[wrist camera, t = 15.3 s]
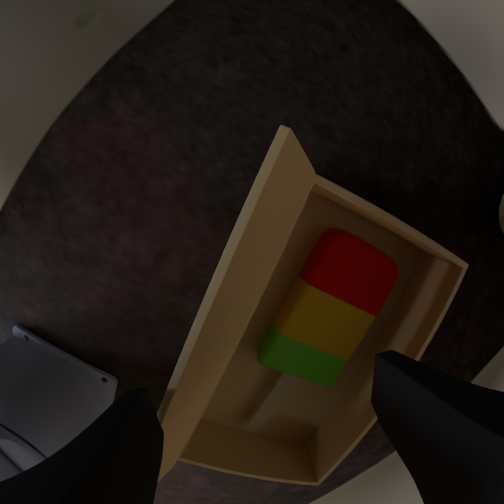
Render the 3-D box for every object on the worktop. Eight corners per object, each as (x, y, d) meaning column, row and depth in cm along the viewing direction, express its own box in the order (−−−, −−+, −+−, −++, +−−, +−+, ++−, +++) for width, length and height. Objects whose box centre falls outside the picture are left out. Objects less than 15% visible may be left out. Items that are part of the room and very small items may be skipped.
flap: (173, 466, 15) (169, 463, 15) (315, 172, 12) (309, 169, 12) (125, 515, 10) (120, 511, 10) (291, 128, 7) (280, 123, 7)
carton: (180, 411, 21) (172, 458, 16) (288, 174, 17) (309, 170, 13) (305, 443, 22) (318, 485, 17) (424, 247, 19) (469, 264, 14)
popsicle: (393, 259, 19) (408, 266, 17) (282, 428, 21) (286, 445, 19) (325, 219, 18) (335, 223, 16) (216, 408, 20) (216, 425, 18)
